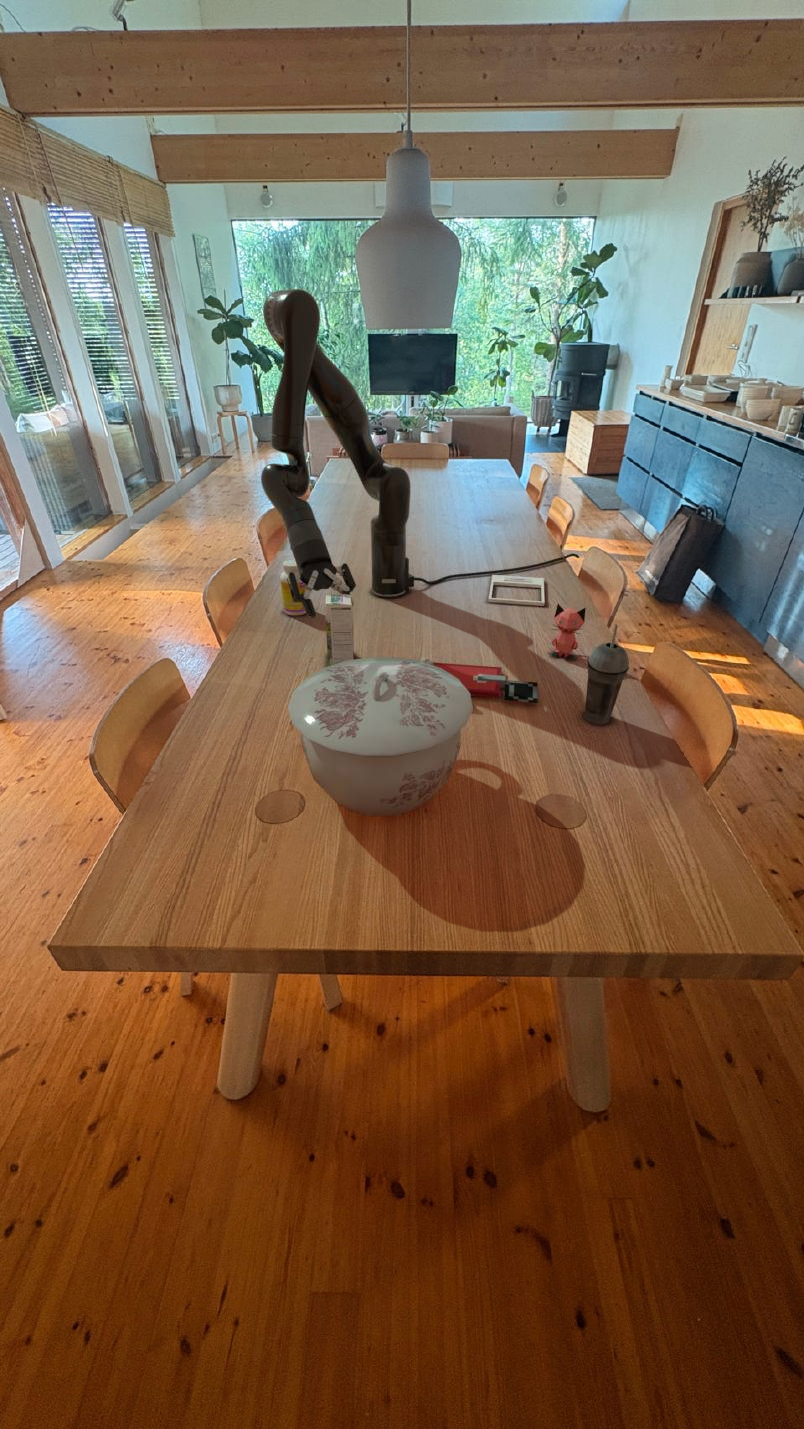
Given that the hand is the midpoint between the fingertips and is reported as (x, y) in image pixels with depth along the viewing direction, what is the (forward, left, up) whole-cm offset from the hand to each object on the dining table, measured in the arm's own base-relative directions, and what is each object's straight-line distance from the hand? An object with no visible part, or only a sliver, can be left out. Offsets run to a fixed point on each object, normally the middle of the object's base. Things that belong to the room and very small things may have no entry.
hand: (332, 613), depth 135 cm
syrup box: (0, +3, -10) cm, 11 cm away
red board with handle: (-17, +26, -10) cm, 33 cm away
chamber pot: (+12, +46, -10) cm, 49 cm away
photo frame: (-59, -10, -10) cm, 61 cm away
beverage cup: (-33, +48, -10) cm, 59 cm away
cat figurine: (-45, +25, -10) cm, 53 cm away
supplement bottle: (-1, -27, -10) cm, 29 cm away
